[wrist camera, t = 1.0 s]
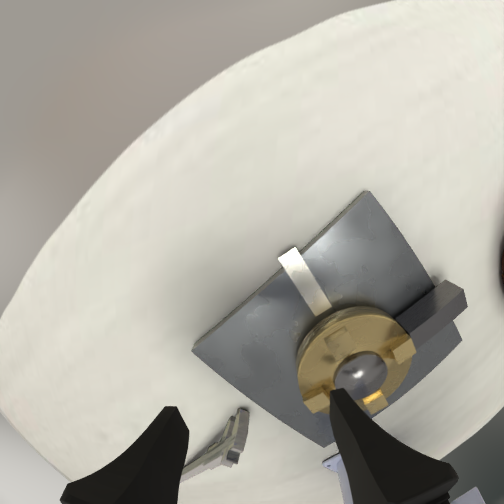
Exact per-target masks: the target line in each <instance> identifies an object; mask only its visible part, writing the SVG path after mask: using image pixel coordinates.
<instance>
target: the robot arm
mask: <svg viewBox="0 0 504 504" xmlns="http://www.w3.org/2000/svg"><path fill="white" fill-rule="evenodd" d="M329 418H330V422H331V427H332V431H333V435H334V438H335V441H336V444H337V447H338V449H339V452H340V453H339V454H338V455H336V456H334V457H332V458H330V459H328V460H326V461H324V462H323V463H322V465H323V466H324V467H326V468H328V469H330V470H332V471H334V472H337V473H338V476H339V481H340V486H341V490H342V495H343V500H344V504H485V502H484V500H483V498H482V496H481V495H480V492H479V491H478V489H477V487H474V488H473V489H471V490H470V491H468V492H466V493H465V494H464V495H462V496H460V497H458V498H457V499H455V500H454V501H452V502H451V503H449V501H448V499H449V498H450V496H449V494H448V491H449V490H450V489H451V488H452V487H453V486H454V485H455V484H456V483H457V481H458V479H459V478H458V475H457V473H456V472H455V470H454V469H453V467H452V466H451V465H450V464H449V463H446V462H442V461H439V460H436V459H434V458H431V457H429V456H426V455H424V454H421V453H420V452H418V451H416V450H414V449H412V448H410V447H408V446H406V445H405V444H403V443H401V442H400V441H398V440H397V439H395V438H394V437H392V436H391V435H390V434H388V433H387V432H386V431H384V430H383V429H382V428H381V427H380V426H379V425H377V424H376V423H375V422H374V421H373V420H372V419H371V418H370V417H369V416H368V415H367V414H366V413H365V412H364V411H363V410H362V409H361V408H360V407H359V406H358V405H357V403H356V402H355V401H354V400H353V399H352V398H351V396H350V395H349V394H348V392H347V391H346V390H345V389H344V388H340V389H335V390H331V391H330V414H329ZM188 443H189V429H188V428H187V426H186V424H185V422H184V420H183V418H182V416H181V414H180V412H179V410H178V408H177V407H176V406H165V407H164V408H163V410H162V411H161V412H160V413H159V414H158V416H157V417H156V418H155V419H154V420H153V422H152V423H151V424H150V425H149V426H148V428H147V429H146V430H145V431H144V432H143V433H142V435H141V436H140V437H139V438H138V439H137V440H136V441H135V442H134V443H133V444H132V445H131V446H130V447H129V448H128V449H127V450H126V451H125V452H123V453H122V454H121V455H120V456H119V457H117V458H116V459H115V460H114V461H112V462H111V463H109V464H108V465H106V466H105V467H103V468H102V469H100V470H98V471H96V472H95V473H93V474H91V475H89V476H87V477H84V478H82V479H79V480H77V481H74V482H71V483H68V484H67V486H66V488H65V490H64V492H63V494H62V496H61V498H60V501H61V503H62V504H177V501H178V490H179V484H180V479H181V475H182V471H183V467H184V463H185V459H186V454H187V450H188Z"/></svg>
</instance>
